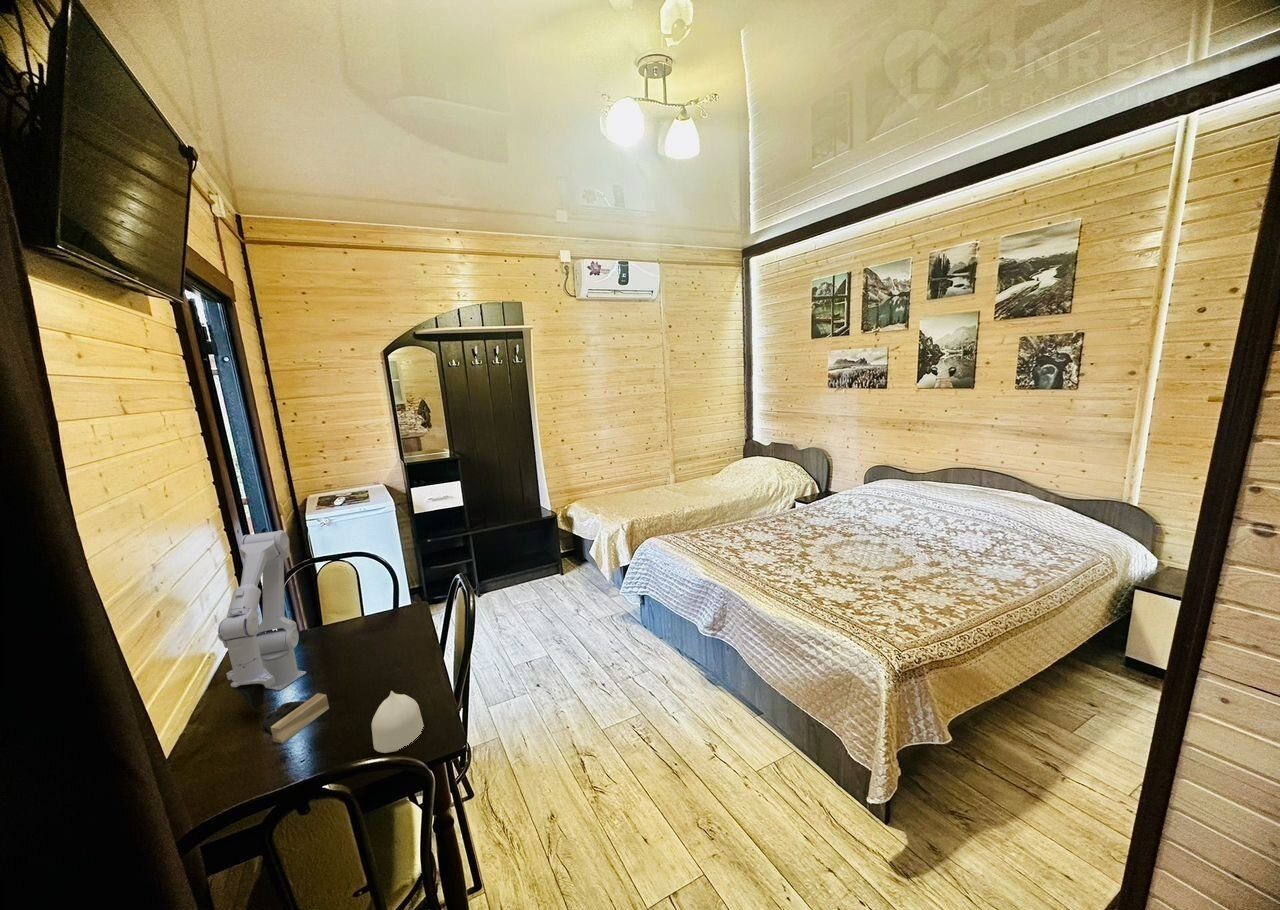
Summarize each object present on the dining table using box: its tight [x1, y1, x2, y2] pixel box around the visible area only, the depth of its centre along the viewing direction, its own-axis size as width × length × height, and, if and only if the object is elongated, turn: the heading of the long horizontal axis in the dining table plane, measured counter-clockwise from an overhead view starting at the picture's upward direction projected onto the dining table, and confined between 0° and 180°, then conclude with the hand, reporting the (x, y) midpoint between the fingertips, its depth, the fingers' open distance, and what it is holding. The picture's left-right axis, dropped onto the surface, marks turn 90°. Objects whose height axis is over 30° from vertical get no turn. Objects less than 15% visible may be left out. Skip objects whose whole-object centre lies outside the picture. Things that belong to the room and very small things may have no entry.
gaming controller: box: [262, 700, 306, 734], centre depth 117 cm, size 10×5×6 cm
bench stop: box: [271, 692, 330, 745], centre depth 115 cm, size 3×12×4 cm, turn 163°
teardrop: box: [371, 690, 425, 754], centre depth 109 cm, size 11×11×12 cm
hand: (257, 706), depth 119 cm, fingers closed
